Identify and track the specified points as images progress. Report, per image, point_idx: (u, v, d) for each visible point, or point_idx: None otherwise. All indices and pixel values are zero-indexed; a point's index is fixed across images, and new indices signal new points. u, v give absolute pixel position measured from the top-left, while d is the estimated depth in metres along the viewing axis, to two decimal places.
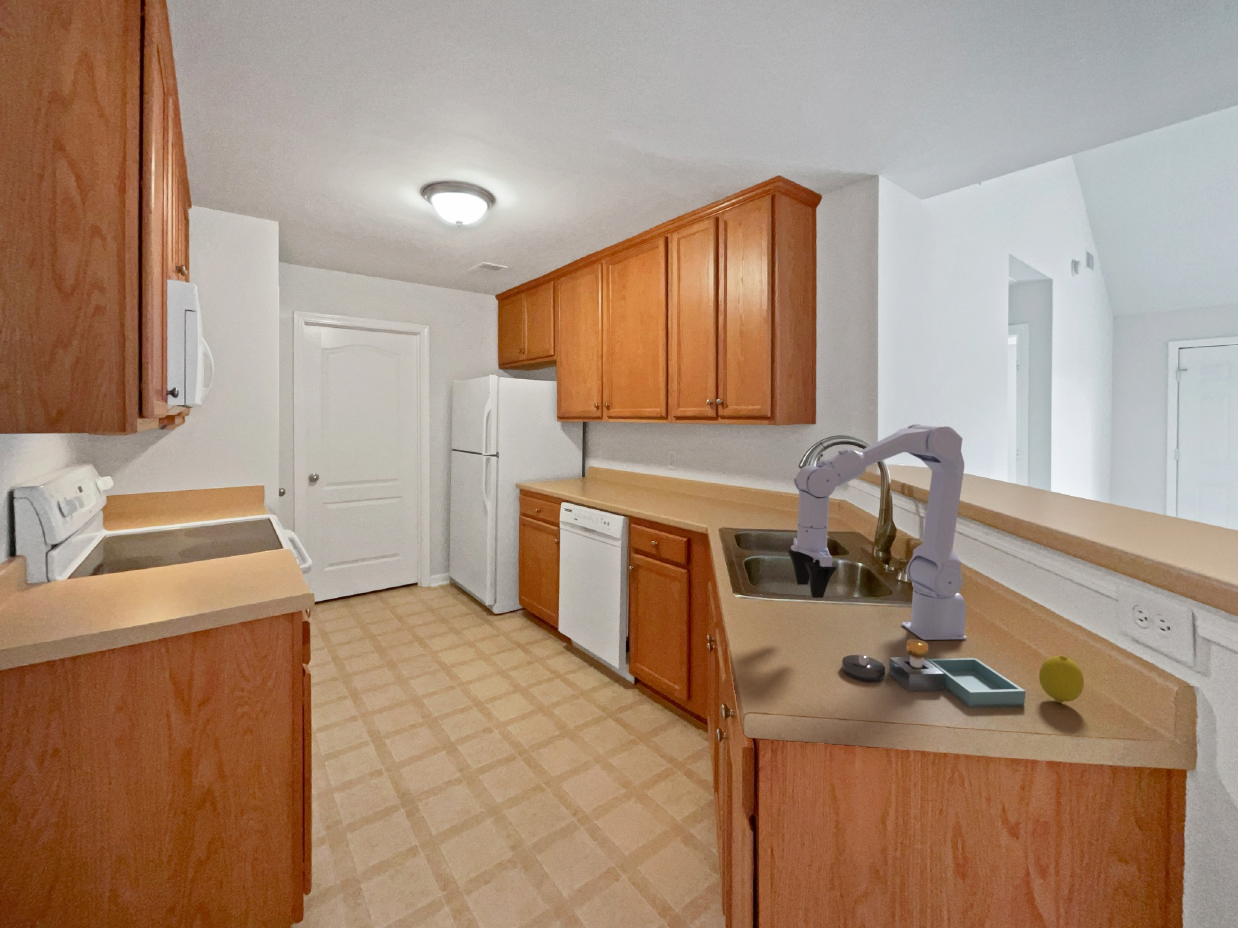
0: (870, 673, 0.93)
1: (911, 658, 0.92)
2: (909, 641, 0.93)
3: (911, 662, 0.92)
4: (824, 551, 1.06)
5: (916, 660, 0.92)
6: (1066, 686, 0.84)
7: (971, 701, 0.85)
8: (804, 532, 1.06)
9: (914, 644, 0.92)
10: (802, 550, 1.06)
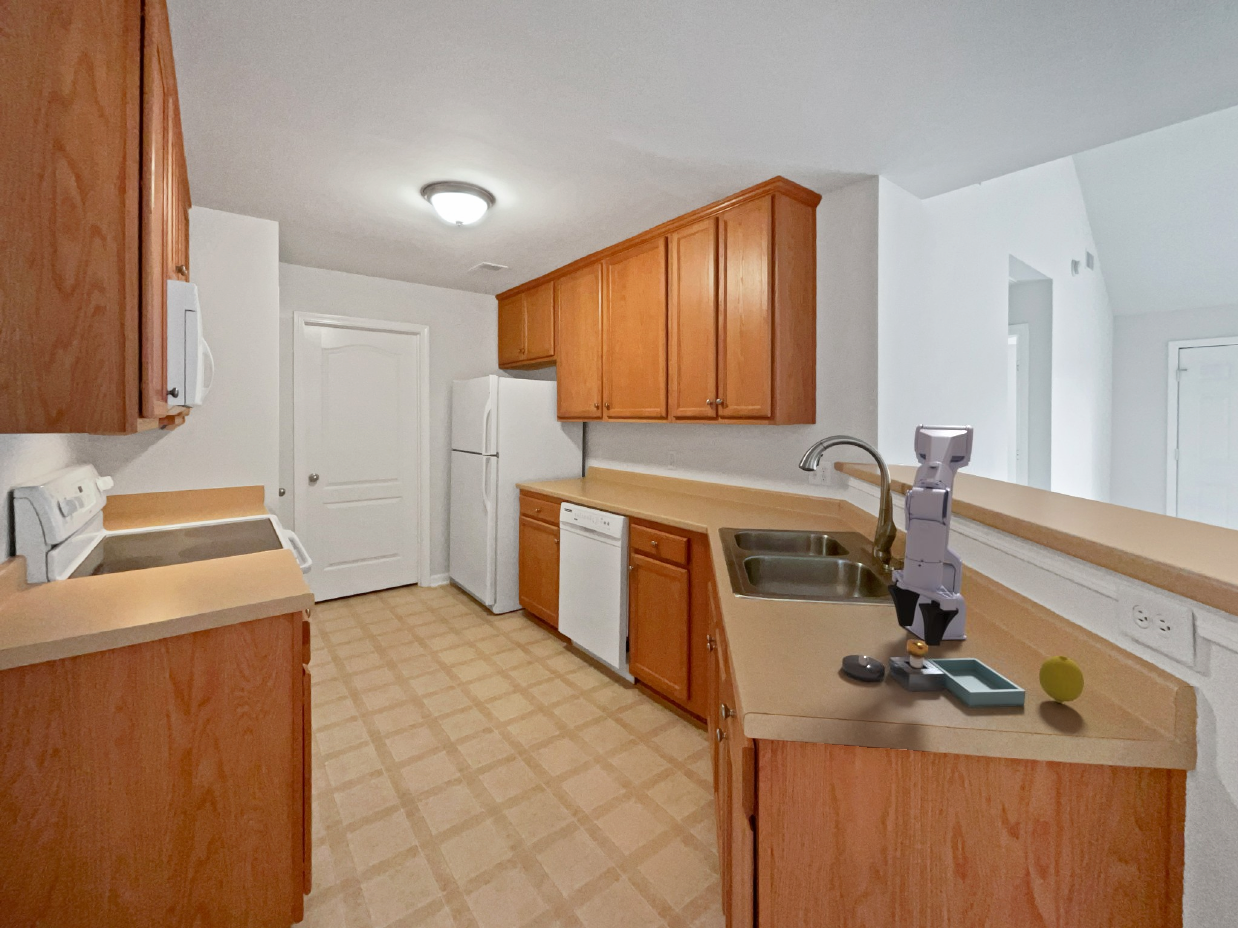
0: (870, 673, 0.93)
1: (911, 658, 0.92)
2: (909, 641, 0.93)
3: (911, 662, 0.92)
4: (940, 590, 0.88)
5: (916, 660, 0.92)
6: (1066, 686, 0.84)
7: (971, 701, 0.85)
8: (916, 567, 0.89)
9: (914, 644, 0.92)
10: (913, 588, 0.89)
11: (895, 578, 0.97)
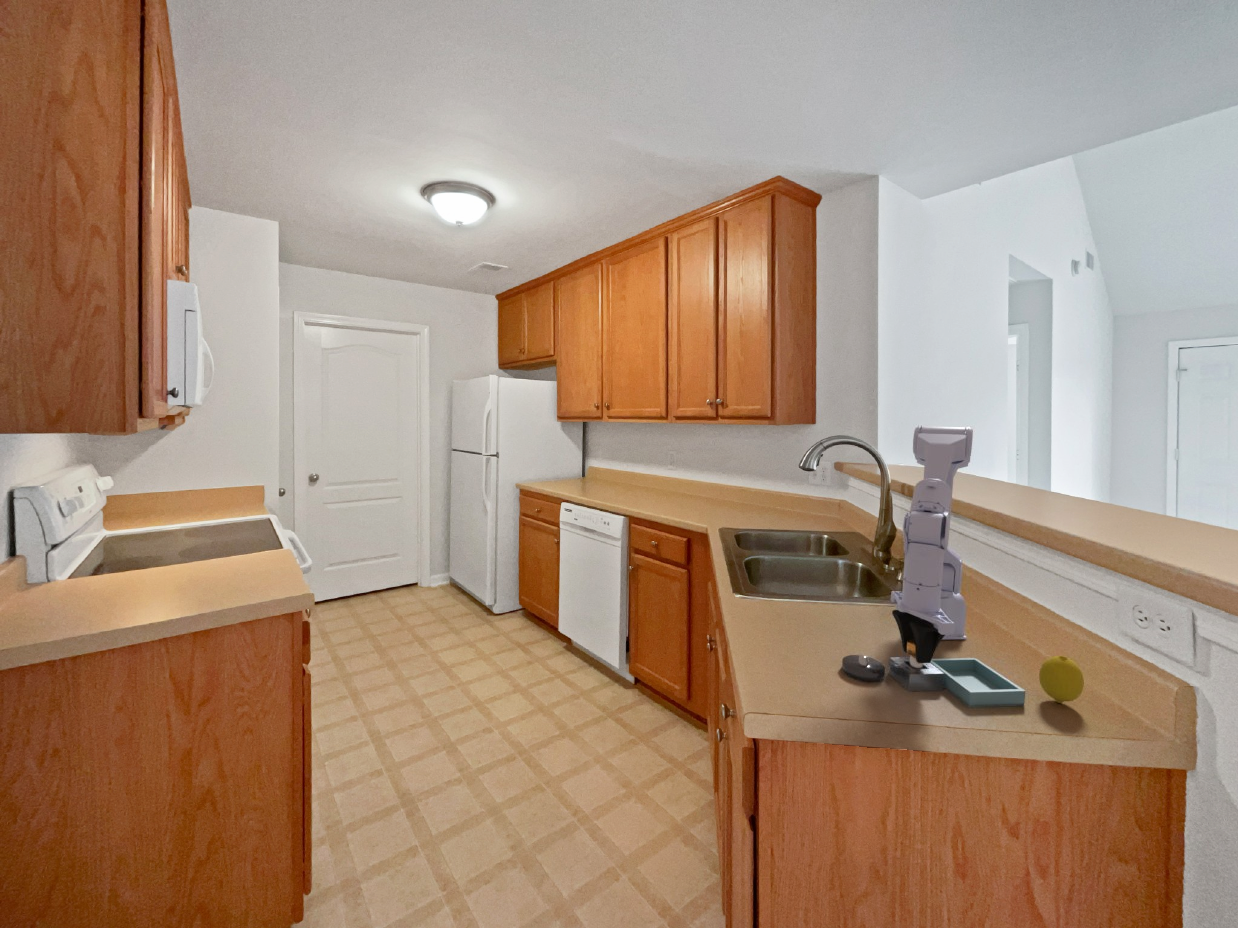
0: (870, 673, 0.93)
1: (911, 658, 0.92)
2: (909, 641, 0.93)
3: (911, 662, 0.92)
4: (938, 613, 0.89)
5: (916, 660, 0.92)
6: (1066, 686, 0.84)
7: (971, 701, 0.85)
8: (914, 590, 0.89)
9: (914, 644, 0.92)
10: (911, 611, 0.90)
11: (894, 599, 0.98)
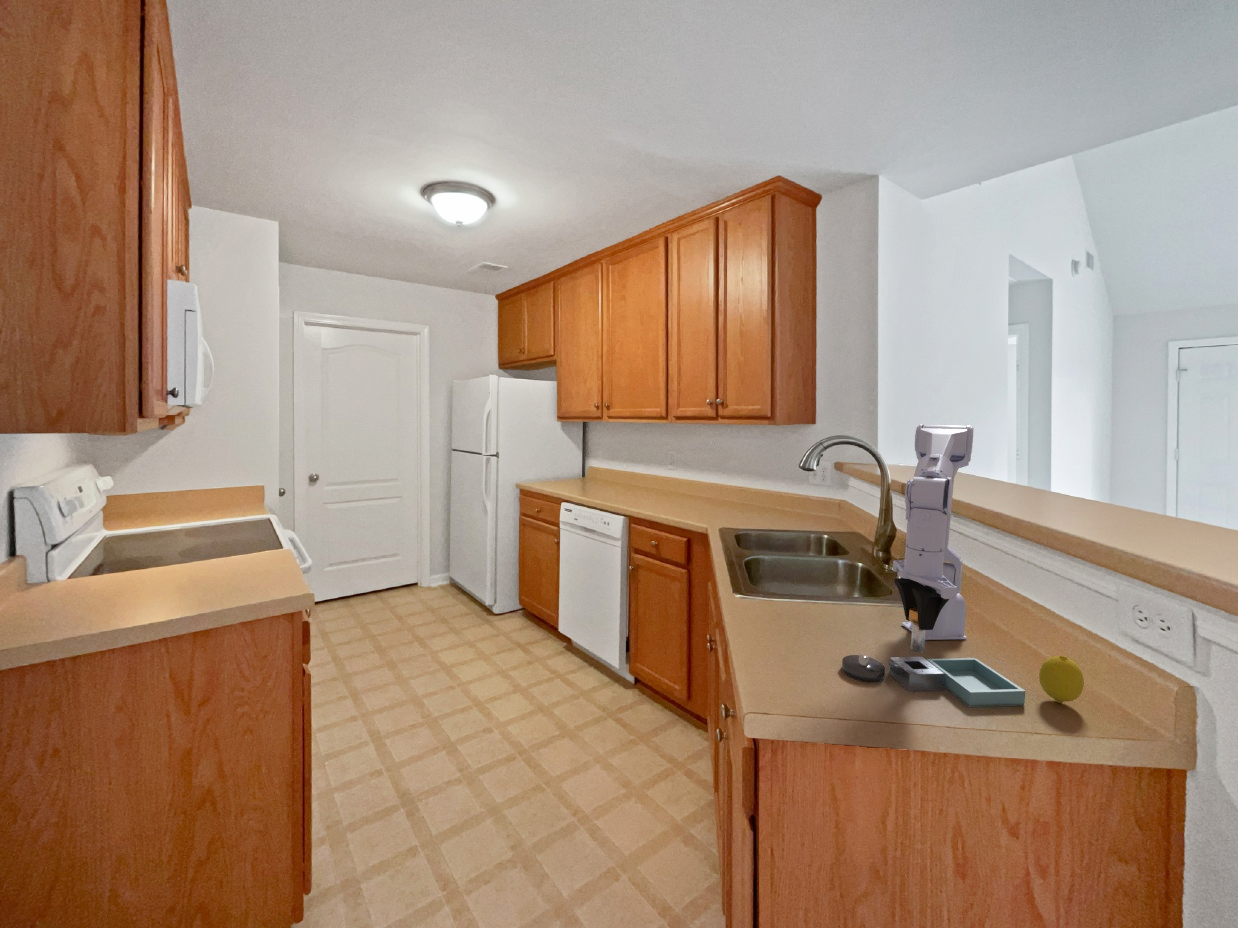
0: (870, 673, 0.93)
1: (914, 626, 0.92)
2: (911, 609, 0.92)
3: (913, 630, 0.92)
4: (941, 579, 0.88)
5: (918, 627, 0.91)
6: (1066, 686, 0.84)
7: (971, 701, 0.85)
8: (917, 556, 0.89)
9: (916, 612, 0.91)
10: (914, 577, 0.89)
11: (896, 568, 0.97)
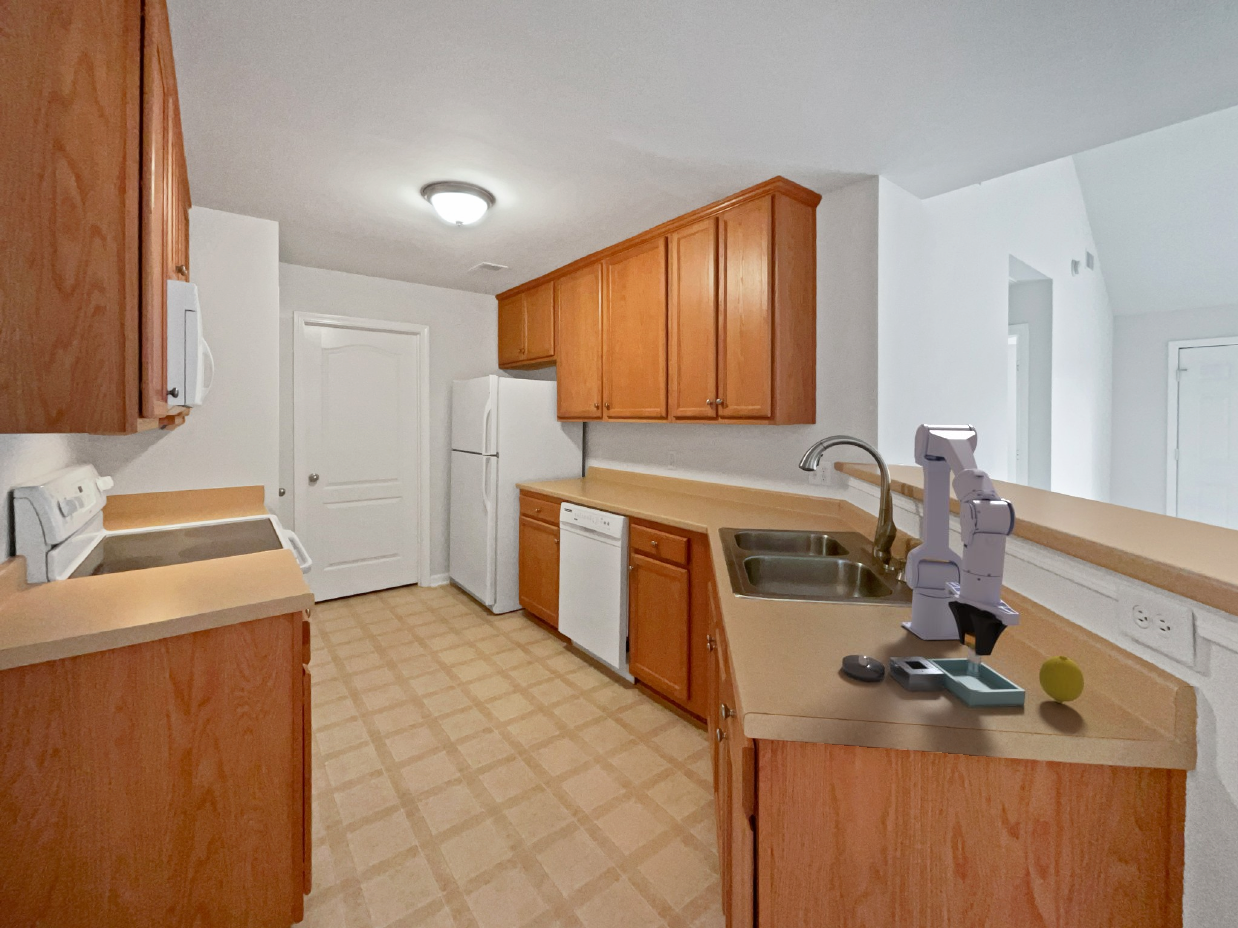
0: (870, 673, 0.93)
1: (970, 651, 0.90)
2: (967, 633, 0.91)
3: (969, 655, 0.90)
4: (1000, 604, 0.87)
5: (975, 652, 0.89)
6: (1066, 686, 0.84)
7: (971, 701, 0.85)
8: (975, 580, 0.87)
9: (973, 636, 0.89)
10: (972, 602, 0.87)
11: (948, 591, 0.96)
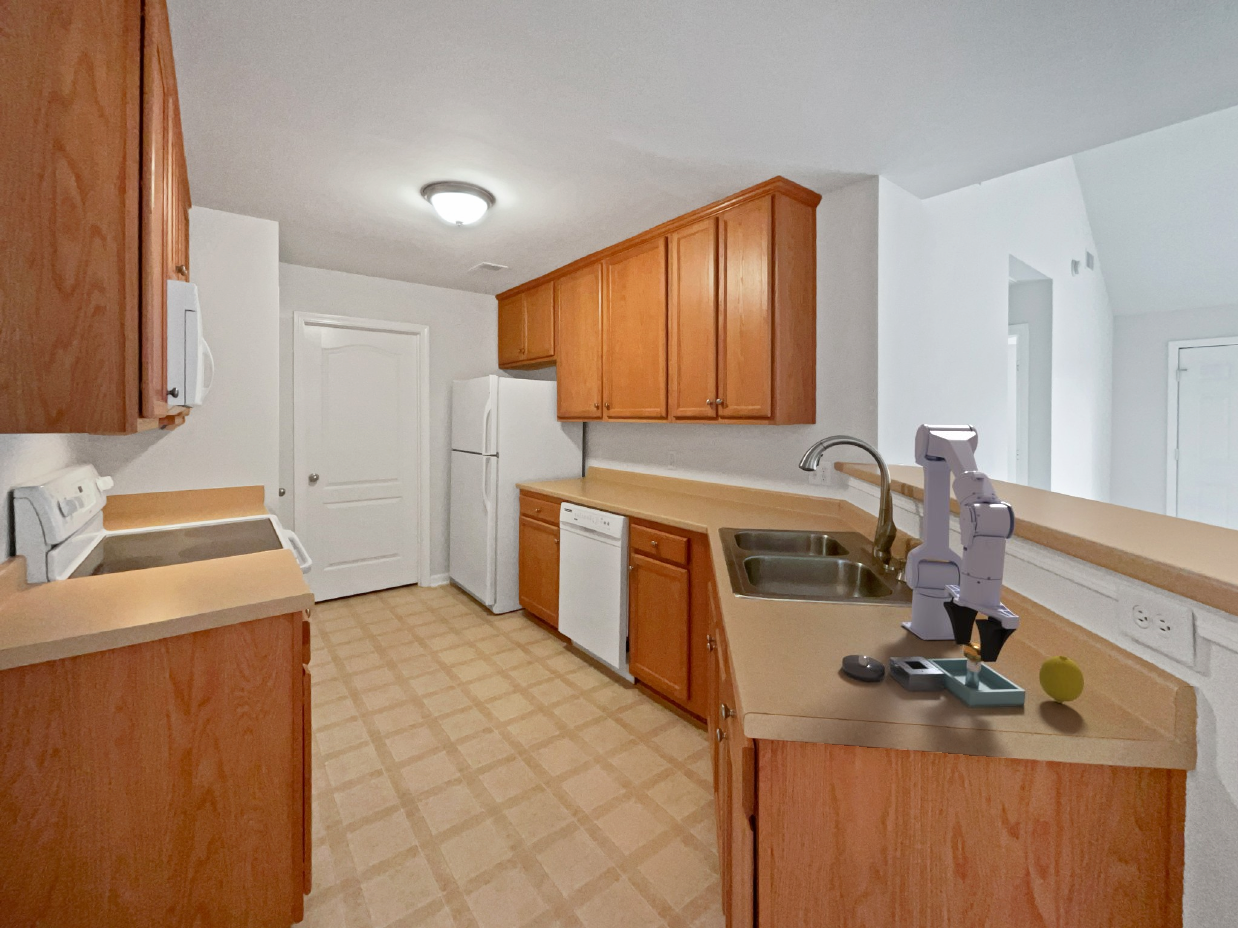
0: (870, 673, 0.93)
1: (969, 662, 0.90)
2: (966, 644, 0.91)
3: (968, 666, 0.90)
4: (1000, 607, 0.87)
5: (974, 664, 0.90)
6: (1066, 686, 0.84)
7: (971, 701, 0.85)
8: (974, 583, 0.87)
9: (972, 648, 0.90)
10: (971, 605, 0.87)
11: (948, 593, 0.96)
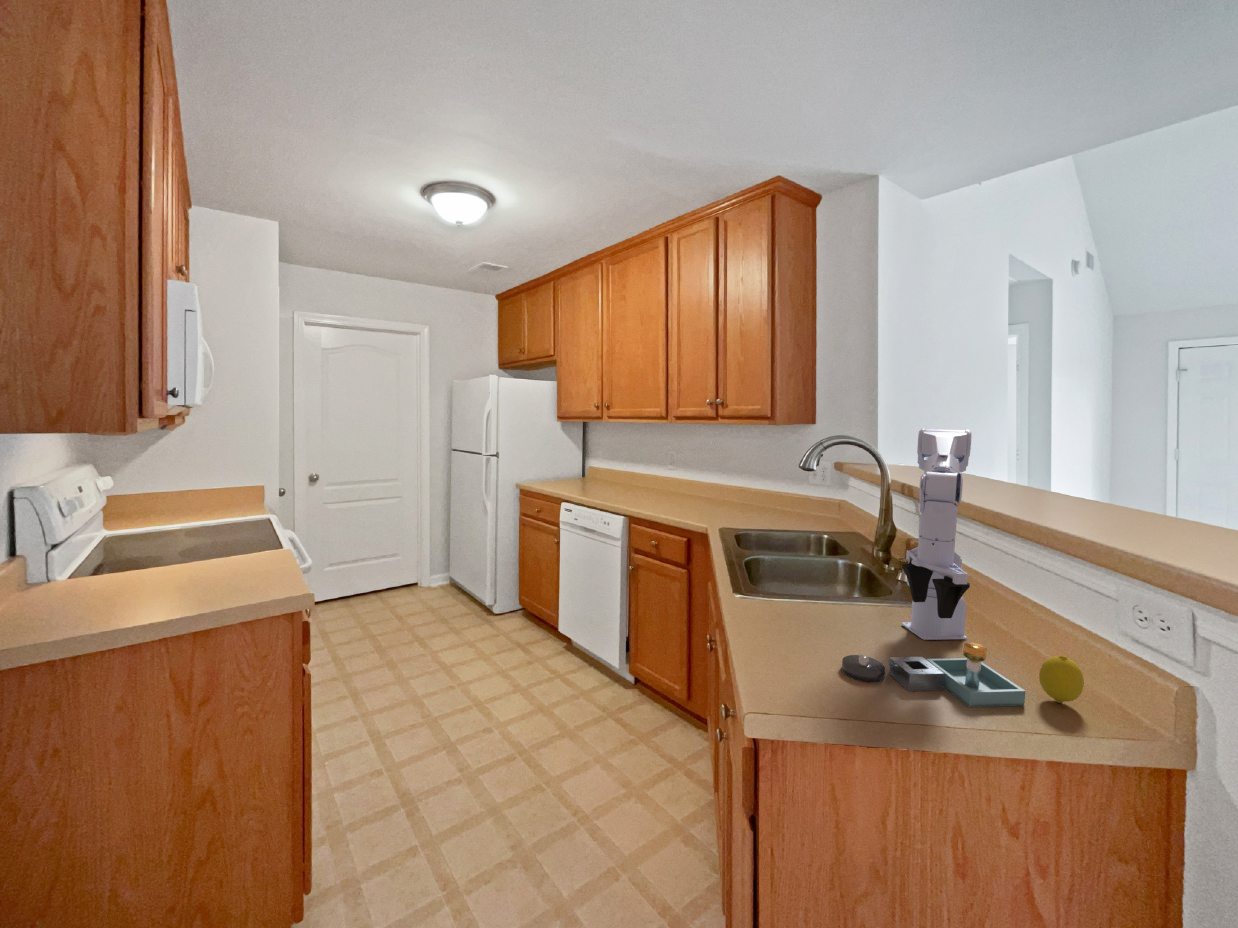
0: (870, 673, 0.93)
1: (969, 662, 0.90)
2: (966, 644, 0.91)
3: (968, 666, 0.90)
4: (952, 566, 0.95)
5: (974, 664, 0.90)
6: (1066, 686, 0.84)
7: (971, 701, 0.85)
8: (929, 545, 0.96)
9: (972, 648, 0.90)
10: (927, 565, 0.96)
11: (909, 557, 1.04)
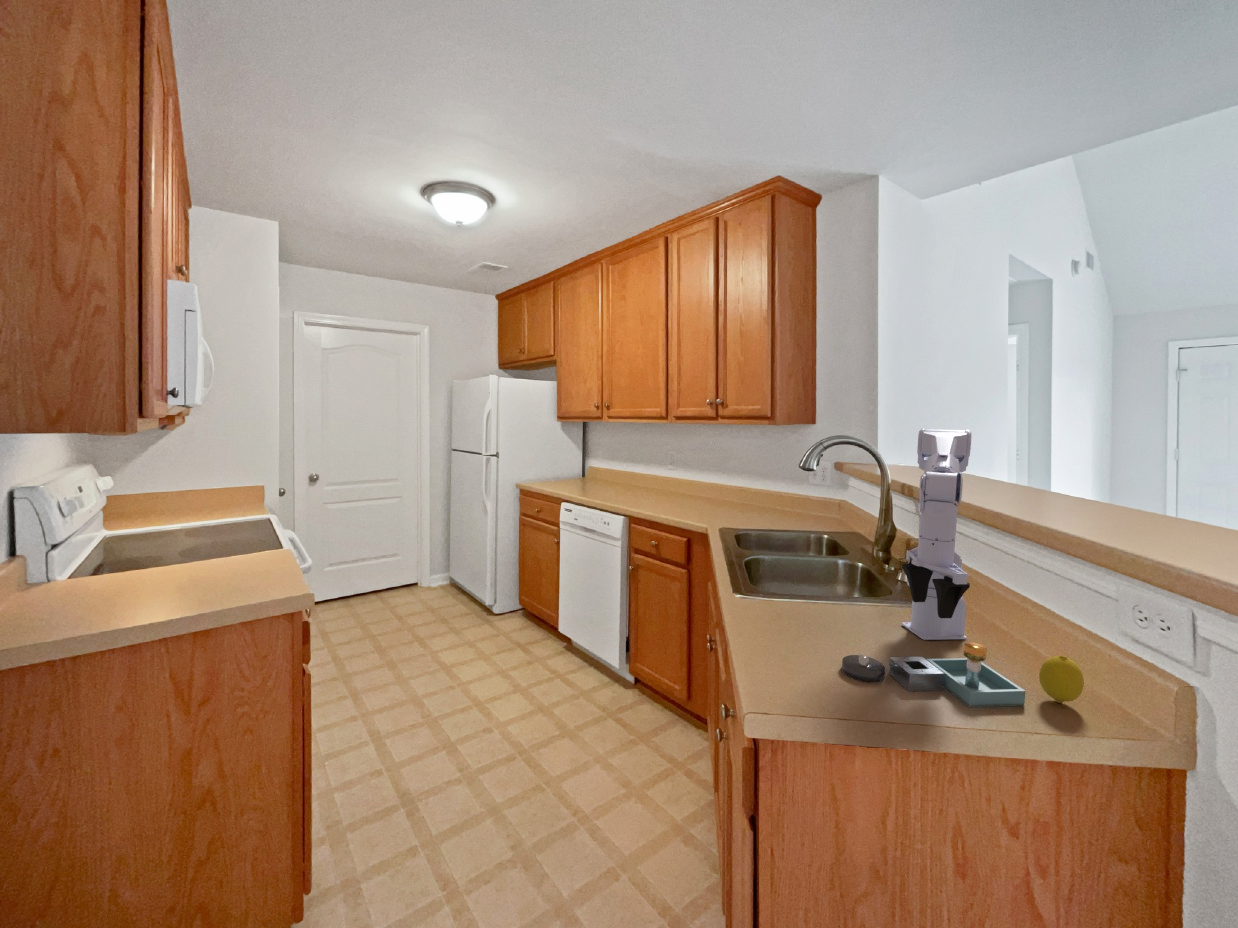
0: (870, 673, 0.93)
1: (969, 662, 0.90)
2: (966, 644, 0.91)
3: (968, 665, 0.90)
4: (952, 566, 0.95)
5: (974, 663, 0.90)
6: (1066, 686, 0.84)
7: (971, 701, 0.85)
8: (929, 545, 0.96)
9: (972, 647, 0.90)
10: (927, 565, 0.96)
11: (909, 557, 1.04)
